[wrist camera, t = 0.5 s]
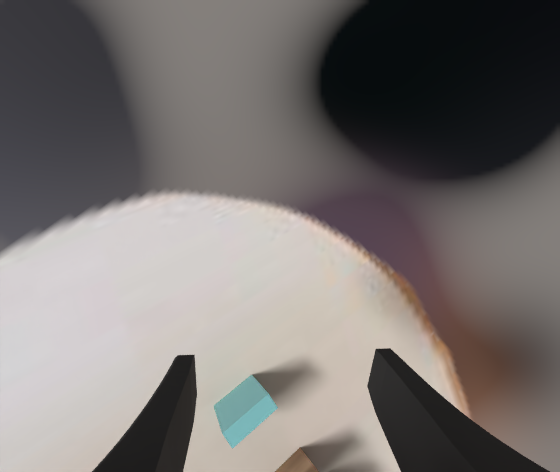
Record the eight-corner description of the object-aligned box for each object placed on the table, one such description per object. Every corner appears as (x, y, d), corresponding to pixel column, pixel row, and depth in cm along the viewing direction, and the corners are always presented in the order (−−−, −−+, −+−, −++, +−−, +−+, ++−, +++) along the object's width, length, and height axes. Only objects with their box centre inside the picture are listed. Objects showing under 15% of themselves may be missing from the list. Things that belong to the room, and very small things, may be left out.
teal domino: (259, 386, 36) (277, 407, 29) (221, 418, 34) (232, 448, 28) (251, 374, 36) (268, 393, 29) (213, 405, 34) (222, 433, 27)
